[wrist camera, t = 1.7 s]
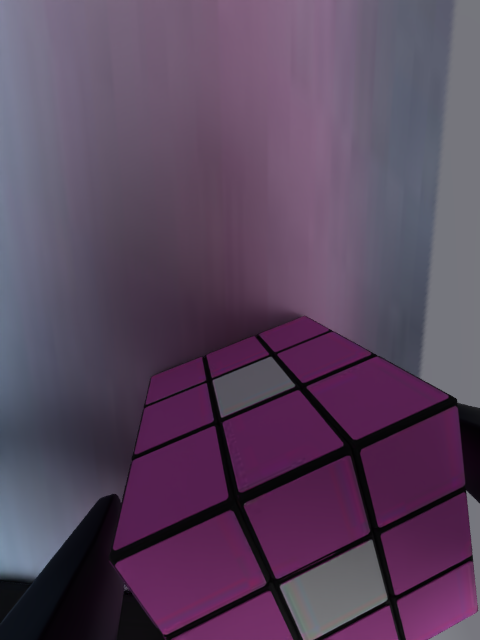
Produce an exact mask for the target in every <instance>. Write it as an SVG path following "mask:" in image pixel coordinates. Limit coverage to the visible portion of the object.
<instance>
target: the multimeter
mask: <svg viewBox="0 0 480 640" xmlns="http://www.w3.org/2000/svg"><path fill="white" fill-rule="evenodd" d="M30 586H31V585H30V584H20V583H11V582H2V581H0V623H1V622H2V621H3V620H4V618H5V617H6V616H7V615H8V613H9V612H10V611H11V610H12V608H13V607H14V606H15V604H16V603H17V602H18V601H19V599H20V598H21V597H22V596H23V594H24V593H25V592H26V591H27V589H28V588H29V587H30ZM117 640H165V639H164V637H163V634H162V633H161V632H160V631H159V629H158V628H157V627H156V626H155V625H154V623H153V622H152V620H151V619H150V618H149V616H148V615H147V613H146V612H145V611H144V609H143V608H142V606H141V605H140V604H139V602H138V601H137V599H136V598H135V597H134V596H131V595H123V599H122V606H121V613H120V620H119V627H118V633H117Z"/></svg>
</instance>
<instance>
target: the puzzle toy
mask: <svg viewBox="0 0 480 640" xmlns="http://www.w3.org/2000/svg"><path fill="white" fill-rule="evenodd" d="M109 561H110V563H111V565H112V566H113V567H114V569H115V570H116V572H117V573H118V574H119V576H120V577H121V579H122V580H123V581H124V583H125V584H126V586H127V587H128V588H129V590H130V591H131V593H132V594H133V595H134V597H135V598H136V599H137V601H138V602H139V604H140V605H141V606H142V608H143V609H144V611H145V612H146V613H147V615H148V616H149V618H150V619H151V620H152V622H153V623H154V625H155V626H156V627H157V628H158V629H159V631H160V632H161V633H162V634H163V637H164V639H165V640H428V639H430V638H432V637H434V636H436V635H437V634H439V633H441V632H443V631H445V630H446V629H448V628H450V627H452V626H453V625H455V624H457V623H459V622H461V621H462V620H464V619H466V618H468V617H469V616H471V615H473V614H475V613H476V612H477V611H478V605H477V595H476V585H475V575H474V565H473V555H472V545H471V535H470V526H469V515H468V505H467V496H466V486H465V474H464V464H463V454H462V444H461V434H460V424H459V415H458V405H457V399H456V398H454V397H453V396H451V395H449V394H447V393H445V392H443V391H442V390H440V389H438V388H436V387H434V386H433V385H431V384H429V383H427V382H425V381H423V380H422V379H420V378H418V377H416V376H414V375H413V374H411V373H409V372H407V371H405V370H403V369H402V368H400V367H398V366H396V365H394V364H392V363H391V362H389V361H387V360H385V359H383V358H382V357H380V356H377V355H376V354H374V353H372V352H370V351H369V350H367V349H365V348H363V347H361V346H359V345H358V344H356V343H354V342H352V341H350V340H349V339H347V338H345V337H343V336H341V335H339V334H338V333H336V332H333V331H332V330H330V329H328V328H327V327H325V326H323V325H321V324H319V323H317V322H316V321H314V320H312V319H310V318H308V317H307V316H303V317H300V318H298V319H295V320H293V321H290V322H288V323H285V324H283V325H280V326H278V327H275V328H273V329H270V330H267V331H265V332H262V333H260V334H258V335H257V336H252V337H250V338H247V339H245V340H242V341H240V342H237V343H235V344H232V345H230V346H227V347H225V348H222V349H220V350H217V351H215V352H212V353H209V354H207V355H206V356H205V357H199V358H197V359H194V360H192V361H189V362H187V363H184V364H182V365H179V366H177V367H174V368H172V369H169V370H167V371H164V372H162V373H159V374H157V375H154V376H152V377H151V379H150V383H149V387H148V391H147V395H146V400H145V404H144V408H143V413H142V417H141V421H140V425H139V430H138V434H137V438H136V442H135V447H134V451H133V455H132V462H131V464H130V468H129V472H128V477H127V481H126V485H125V489H124V494H123V498H122V502H121V507H120V511H119V515H118V519H117V524H116V528H115V532H114V536H113V541H112V545H111V549H110V554H109Z"/></svg>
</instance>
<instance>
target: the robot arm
mask: <svg viewBox="0 0 480 640" xmlns="http://www.w3.org/2000/svg"><path fill="white" fill-rule="evenodd" d="M457 405H458V415H459V424H460V434H461V444H462V454H463V464H464V474H465V486H466V490H467V491H468V492H469V493H470V494H471V495H472V496H473V497H474V498H475V499H476V500H477V501H478V502H479V503H480V408H477V407H472V406H468V405H464V404H460V403H457ZM120 507H121V501H120V499H119V497H118V495H117V494H111V495H108V496H105V497H102V498H100V499H99V500H98V501H97V502H96V504H95V505H94V506H93V507H92V509H91V510H90V511H89V512H88V514H87V515H86V516H85V518H84V519H83V520H82V521H81V523H80V524H79V525H78V526H77V528H76V529H75V530H74V531H73V533H72V534H71V535H70V536H69V538H68V539H67V540H66V541H65V543H64V544H63V545H62V547H61V548H60V549H59V550H58V552H57V553H56V554H55V555H54V557H53V558H52V559H51V560H50V562H49V563H48V564H47V565H46V567H45V568H44V569H43V570H42V572H41V573H40V574H39V576H38V577H37V578H36V579H35V581H34V582H33V583H32V584H31V586H30V587H29V588H28V589H27V591H26V592H25V593H24V594H23V596H22V597H21V598H20V599H19V601H18V602H17V603H16V604H15V606H14V607H13V608H12V610H11V611H10V612H9V613H8V615H7V616H6V617H5V618H4V620H3V621H2V622H1V623H0V640H117V633H118V627H119V620H120V613H121V606H122V599H123V591H124V581H123V580H122V579H121V577H120V576H119V574H118V573H117V572H116V570H115V569H114V567H113V566H112V565H111V563H110V561H109V554H110V549H111V545H112V541H113V536H114V532H115V528H116V524H117V519H118V515H119V511H120Z"/></svg>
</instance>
